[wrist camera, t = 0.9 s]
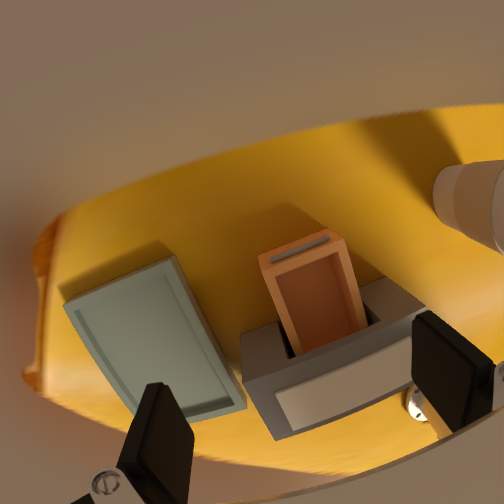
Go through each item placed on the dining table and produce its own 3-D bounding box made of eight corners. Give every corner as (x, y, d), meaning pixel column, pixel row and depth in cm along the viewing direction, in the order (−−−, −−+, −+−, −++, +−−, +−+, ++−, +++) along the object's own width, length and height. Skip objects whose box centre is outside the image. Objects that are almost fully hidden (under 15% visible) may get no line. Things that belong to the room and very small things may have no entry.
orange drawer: (357, 330, 32) (374, 354, 27) (297, 355, 32) (306, 383, 27) (324, 222, 29) (341, 231, 24) (254, 249, 29) (258, 265, 24)
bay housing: (267, 390, 33) (275, 443, 25) (240, 334, 31) (242, 385, 23) (397, 336, 32) (433, 376, 24) (385, 276, 30) (428, 307, 22)
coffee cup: (440, 252, 30) (538, 300, 15) (411, 177, 28) (524, 189, 13) (488, 213, 29) (583, 240, 15) (465, 143, 27) (569, 142, 12)
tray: (246, 397, 33) (247, 408, 31) (150, 421, 33) (146, 432, 31) (174, 253, 28) (170, 259, 26) (70, 298, 29) (62, 305, 27)
